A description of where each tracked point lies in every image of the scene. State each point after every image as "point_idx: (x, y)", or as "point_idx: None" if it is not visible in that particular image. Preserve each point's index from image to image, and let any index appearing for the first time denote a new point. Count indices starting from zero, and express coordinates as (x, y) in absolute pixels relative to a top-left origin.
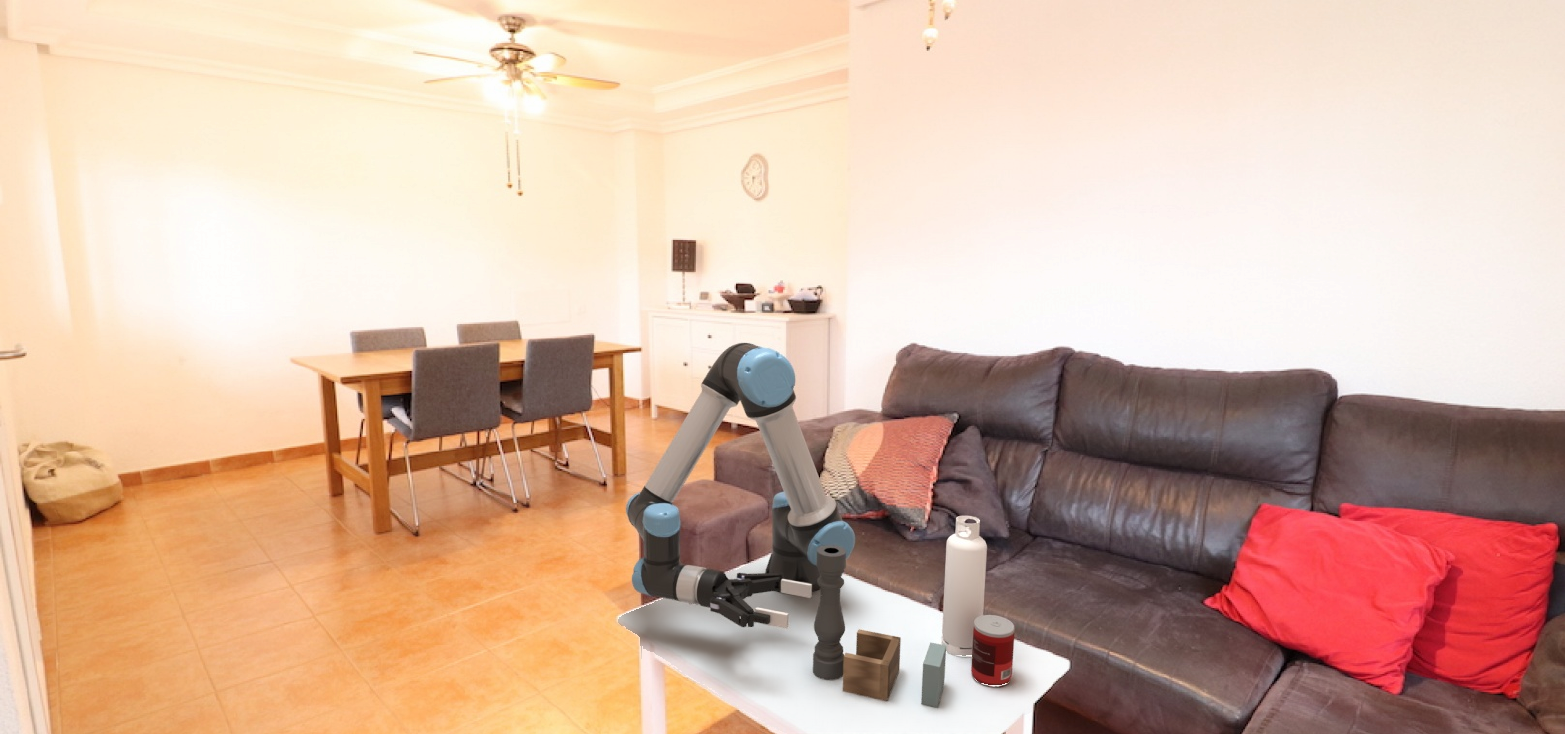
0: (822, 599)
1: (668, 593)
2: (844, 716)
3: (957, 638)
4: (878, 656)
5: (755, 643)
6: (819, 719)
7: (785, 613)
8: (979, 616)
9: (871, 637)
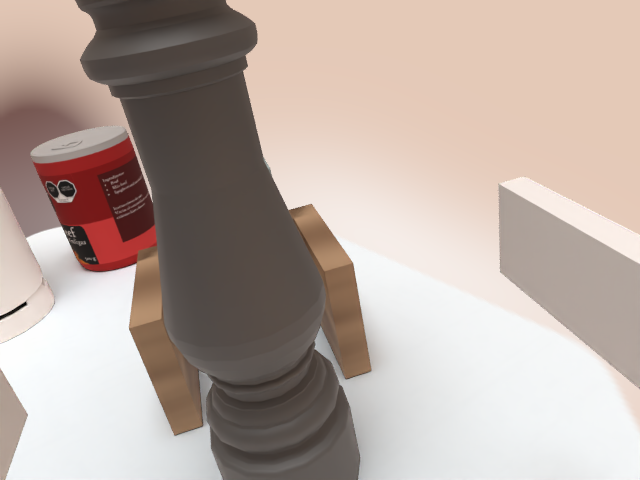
0: (252, 144)
1: None
2: (468, 310)
3: (32, 265)
4: None
5: None
6: (543, 334)
7: (518, 187)
8: (44, 155)
9: None
